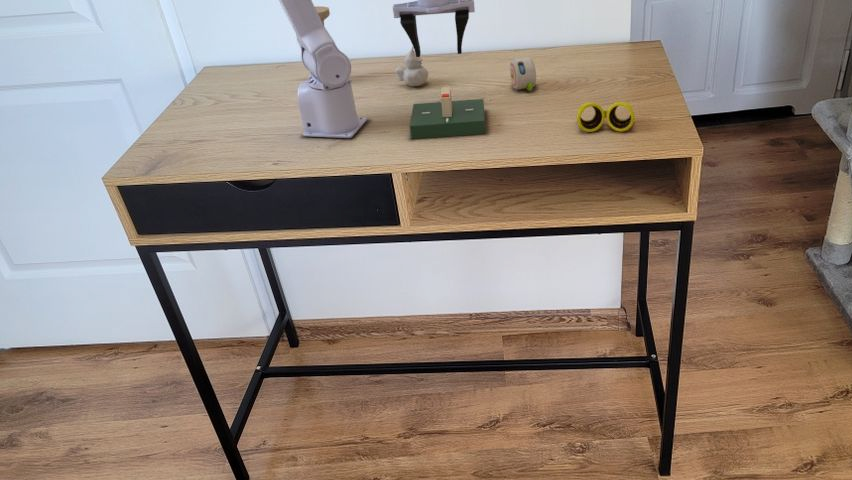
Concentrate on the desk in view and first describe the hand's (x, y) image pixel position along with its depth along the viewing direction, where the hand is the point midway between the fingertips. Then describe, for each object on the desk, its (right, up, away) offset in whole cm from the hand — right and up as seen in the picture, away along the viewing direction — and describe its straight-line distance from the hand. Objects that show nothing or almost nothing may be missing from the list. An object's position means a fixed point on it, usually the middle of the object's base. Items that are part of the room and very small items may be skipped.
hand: (439, 53), depth 139 cm
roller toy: (+16, -4, +9) cm, 19 cm away
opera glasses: (+30, -16, -8) cm, 35 cm away
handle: (-25, -1, +18) cm, 31 cm away
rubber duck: (-6, -2, +14) cm, 15 cm away
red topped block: (+2, -12, -5) cm, 13 cm away
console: (+2, -14, -4) cm, 15 cm away
